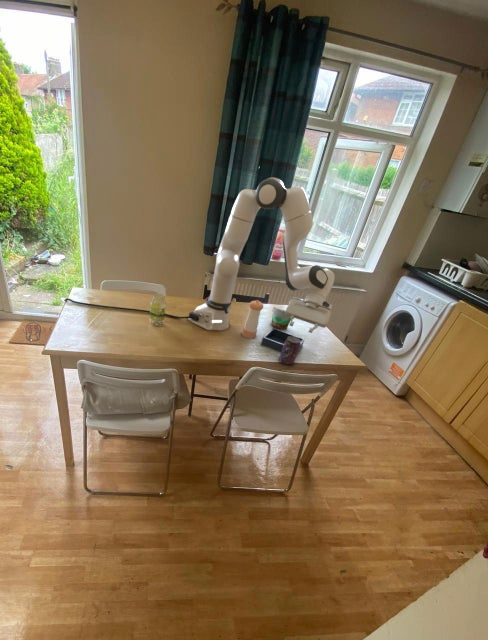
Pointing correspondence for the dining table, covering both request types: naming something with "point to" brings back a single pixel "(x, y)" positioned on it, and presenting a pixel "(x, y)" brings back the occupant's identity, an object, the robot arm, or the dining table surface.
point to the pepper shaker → (252, 319)
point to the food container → (280, 319)
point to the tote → (277, 339)
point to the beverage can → (290, 350)
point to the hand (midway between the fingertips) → (300, 328)
